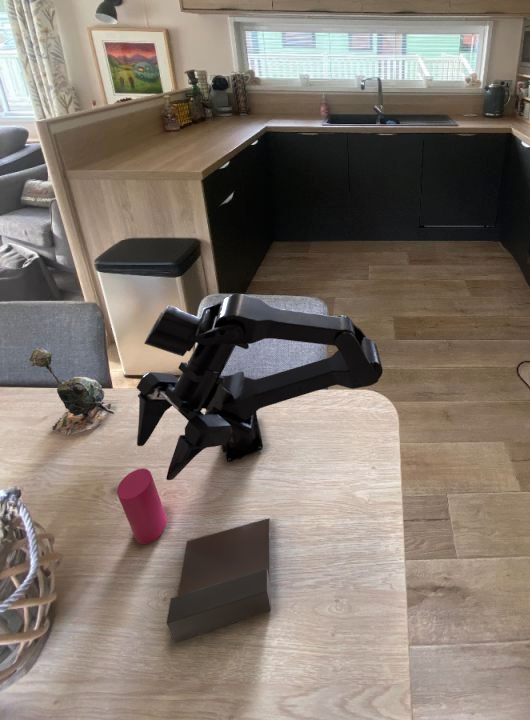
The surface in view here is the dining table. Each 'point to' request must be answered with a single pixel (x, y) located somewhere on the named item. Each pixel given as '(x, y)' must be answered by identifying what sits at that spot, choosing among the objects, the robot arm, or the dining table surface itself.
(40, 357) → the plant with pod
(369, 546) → the dining table surface
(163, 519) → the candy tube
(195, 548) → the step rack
